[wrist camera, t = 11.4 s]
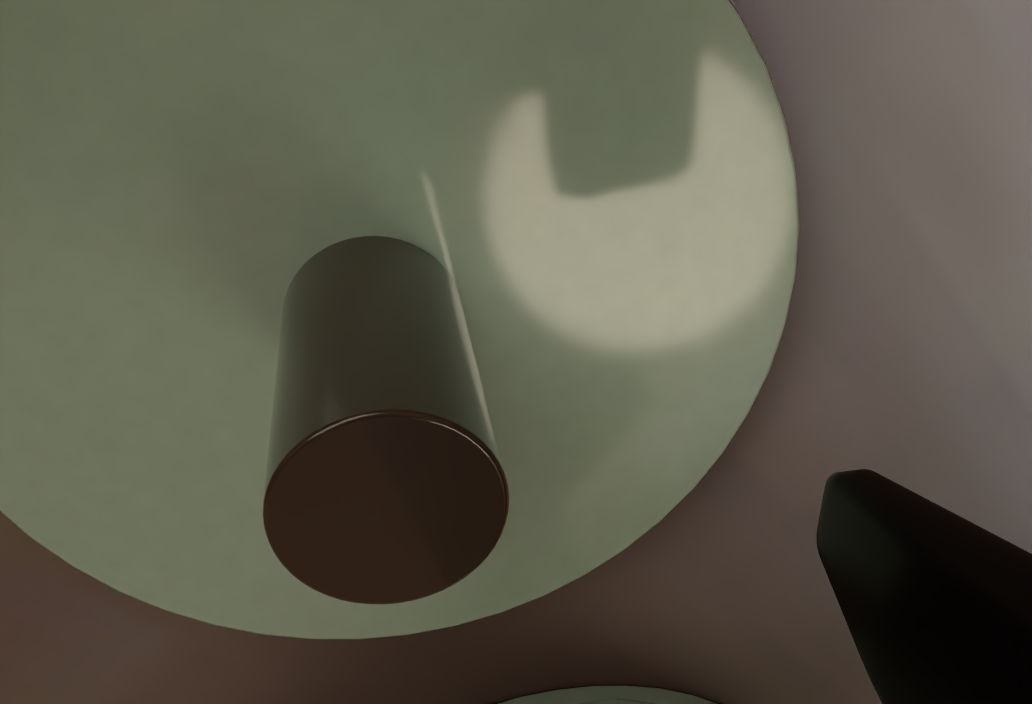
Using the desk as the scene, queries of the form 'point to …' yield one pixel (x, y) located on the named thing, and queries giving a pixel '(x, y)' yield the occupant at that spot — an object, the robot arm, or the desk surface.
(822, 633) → the desk surface
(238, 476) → the lid
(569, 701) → the round container
